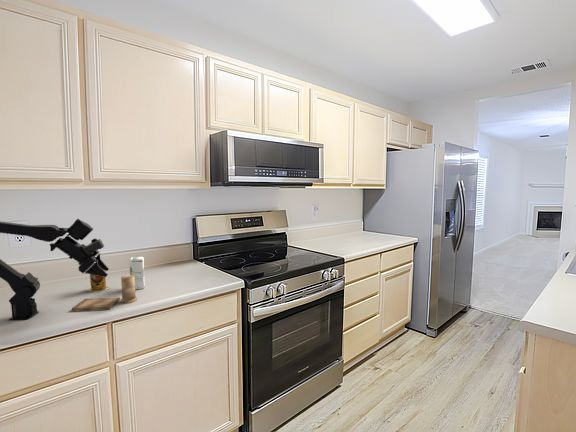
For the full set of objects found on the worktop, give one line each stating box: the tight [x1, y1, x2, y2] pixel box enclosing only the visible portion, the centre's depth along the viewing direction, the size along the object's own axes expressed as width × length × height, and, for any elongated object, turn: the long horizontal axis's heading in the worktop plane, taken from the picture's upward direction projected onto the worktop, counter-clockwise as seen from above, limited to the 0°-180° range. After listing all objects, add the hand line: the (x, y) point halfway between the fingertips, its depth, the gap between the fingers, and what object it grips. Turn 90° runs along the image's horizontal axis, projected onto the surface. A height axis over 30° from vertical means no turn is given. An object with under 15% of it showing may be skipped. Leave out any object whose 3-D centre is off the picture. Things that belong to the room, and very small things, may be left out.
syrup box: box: [129, 256, 146, 291], centre depth 150 cm, size 6×6×14 cm
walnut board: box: [71, 297, 121, 312], centre depth 129 cm, size 14×10×1 cm
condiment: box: [85, 270, 110, 294], centre depth 148 cm, size 7×8×12 cm
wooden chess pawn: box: [120, 274, 138, 304], centre depth 134 cm, size 6×6×10 cm
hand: (107, 272), depth 130 cm, fingers open, 9 cm apart
